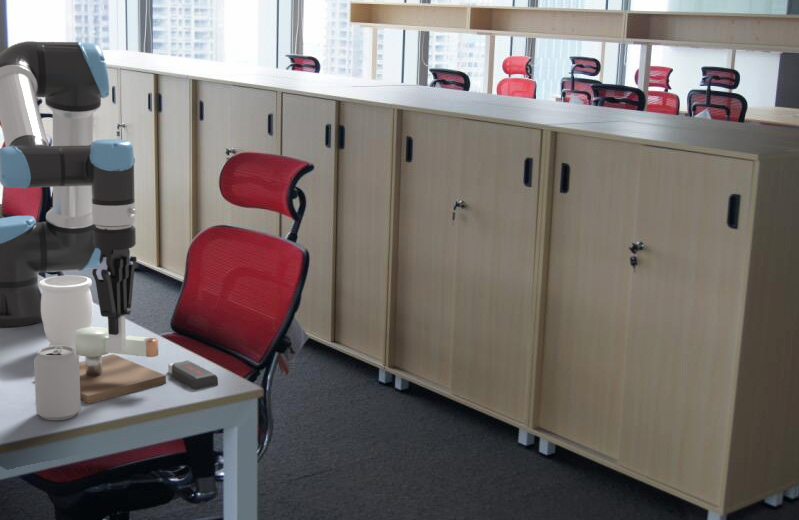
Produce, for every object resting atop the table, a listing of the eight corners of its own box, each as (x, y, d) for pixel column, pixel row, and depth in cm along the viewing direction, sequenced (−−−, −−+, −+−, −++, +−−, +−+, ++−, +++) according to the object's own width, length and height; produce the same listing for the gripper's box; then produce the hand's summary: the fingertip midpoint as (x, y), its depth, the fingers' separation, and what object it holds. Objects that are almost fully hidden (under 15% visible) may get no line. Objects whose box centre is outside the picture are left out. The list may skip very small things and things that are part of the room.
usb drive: (194, 391, 200) (194, 377, 200) (164, 374, 209) (163, 361, 209) (218, 386, 204) (218, 372, 203) (187, 369, 213) (187, 356, 212)
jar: (78, 359, 216) (76, 288, 212) (32, 354, 218) (29, 284, 214) (103, 344, 226) (101, 276, 223) (58, 340, 228) (56, 272, 225)
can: (29, 421, 182) (26, 354, 180) (45, 405, 190) (43, 342, 187) (72, 423, 182) (69, 357, 179) (86, 407, 189) (84, 344, 187)
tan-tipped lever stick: (69, 354, 199) (68, 334, 198) (86, 345, 205) (85, 325, 205) (150, 363, 196) (150, 342, 195) (164, 353, 202) (164, 333, 201)
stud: (82, 373, 203) (82, 352, 202) (96, 370, 205) (95, 349, 204) (91, 377, 201) (90, 356, 200) (105, 373, 203) (104, 353, 202)
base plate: (37, 379, 203) (36, 372, 202) (113, 361, 215) (113, 354, 215) (88, 403, 191) (88, 396, 191) (166, 382, 204) (165, 375, 203)
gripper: (116, 233, 184) (119, 361, 189) (149, 220, 197) (151, 341, 202) (77, 230, 186) (81, 357, 191) (112, 217, 198) (115, 337, 203)
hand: (117, 349), depth 196 cm, fingers closed
